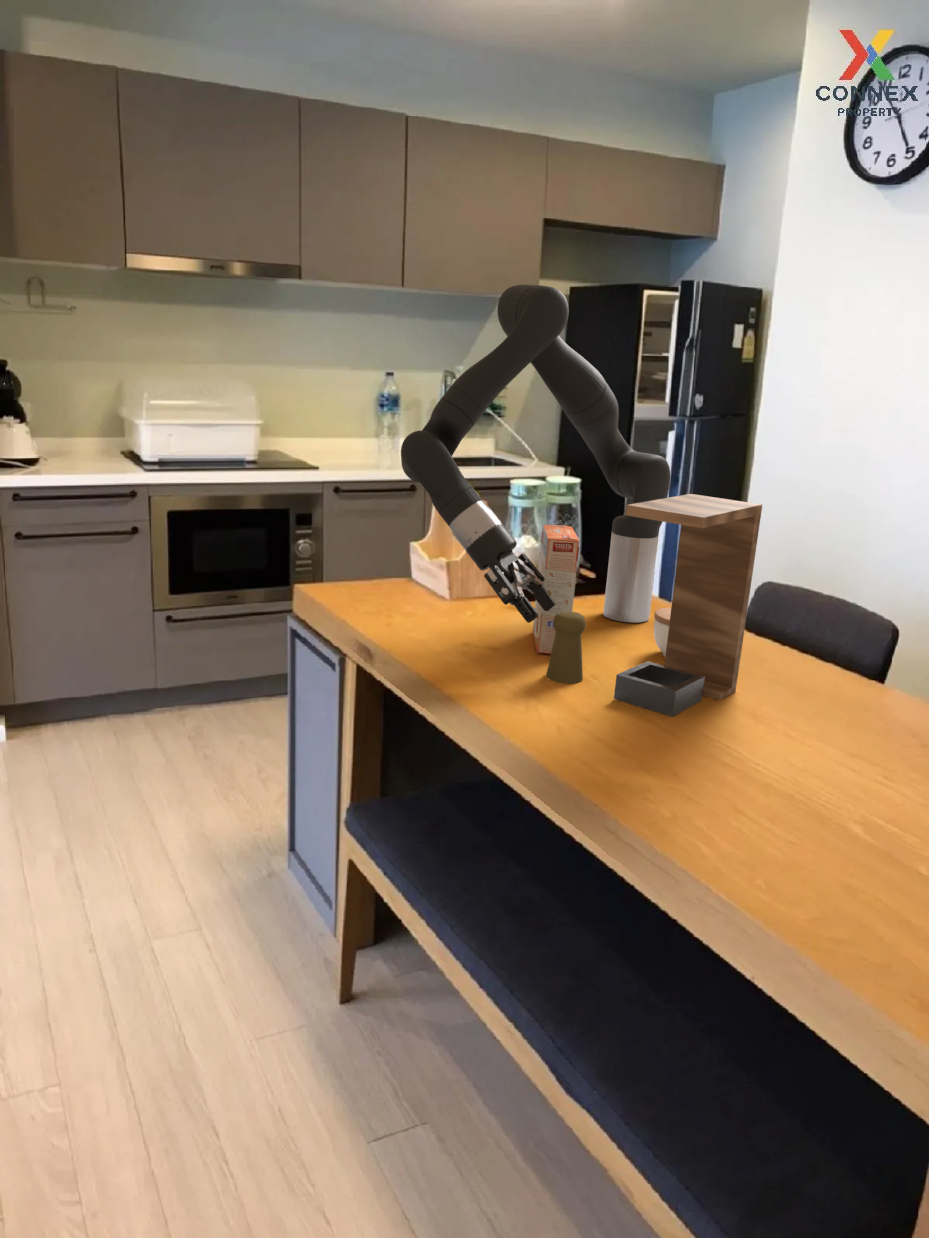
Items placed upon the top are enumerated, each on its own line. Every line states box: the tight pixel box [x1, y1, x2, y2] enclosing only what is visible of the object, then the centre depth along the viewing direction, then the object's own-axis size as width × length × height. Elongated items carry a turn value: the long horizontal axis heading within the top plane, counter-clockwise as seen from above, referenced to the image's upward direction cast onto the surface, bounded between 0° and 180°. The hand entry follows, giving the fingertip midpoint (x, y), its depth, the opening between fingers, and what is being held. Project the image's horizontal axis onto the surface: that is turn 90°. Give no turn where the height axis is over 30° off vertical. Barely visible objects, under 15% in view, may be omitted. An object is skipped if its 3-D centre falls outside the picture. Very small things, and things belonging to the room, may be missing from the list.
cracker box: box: [532, 524, 581, 655], centre depth 174 cm, size 14×6×21 cm, turn 179°
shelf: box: [625, 493, 763, 701], centre depth 149 cm, size 21×12×30 cm, turn 142°
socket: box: [613, 660, 705, 717], centre depth 151 cm, size 10×10×4 cm
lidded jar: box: [653, 606, 672, 657], centre depth 173 cm, size 11×11×9 cm
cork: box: [545, 610, 587, 685], centre depth 158 cm, size 6×6×11 cm
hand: (542, 613), depth 158 cm, fingers open, 8 cm apart
